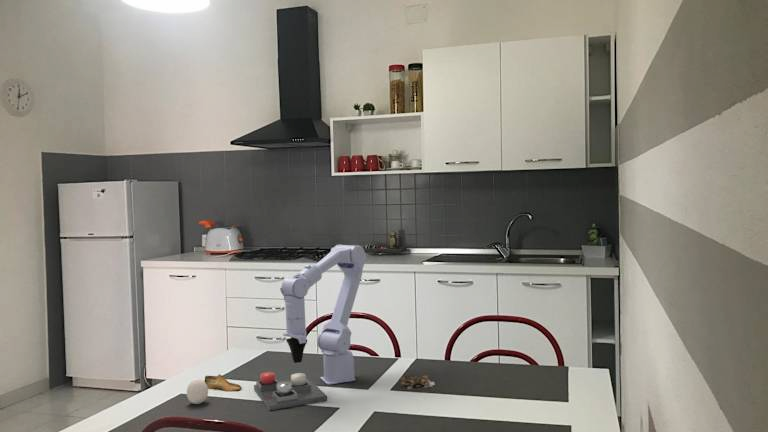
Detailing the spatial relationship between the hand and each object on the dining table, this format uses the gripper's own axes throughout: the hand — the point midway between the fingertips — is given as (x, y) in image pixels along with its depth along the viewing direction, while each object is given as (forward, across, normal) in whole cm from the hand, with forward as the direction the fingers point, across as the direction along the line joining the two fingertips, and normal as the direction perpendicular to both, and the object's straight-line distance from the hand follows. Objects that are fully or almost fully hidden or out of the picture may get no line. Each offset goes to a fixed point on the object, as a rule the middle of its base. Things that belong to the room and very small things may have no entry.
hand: (297, 362), depth 197 cm
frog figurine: (+10, +10, +35) cm, 38 cm away
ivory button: (+7, 0, 0) cm, 7 cm away
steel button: (+7, +6, -6) cm, 11 cm away
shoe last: (+10, -17, -20) cm, 28 cm away
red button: (+7, -6, -8) cm, 12 cm away
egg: (+10, -6, -29) cm, 31 cm away
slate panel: (+10, 0, -3) cm, 10 cm away
